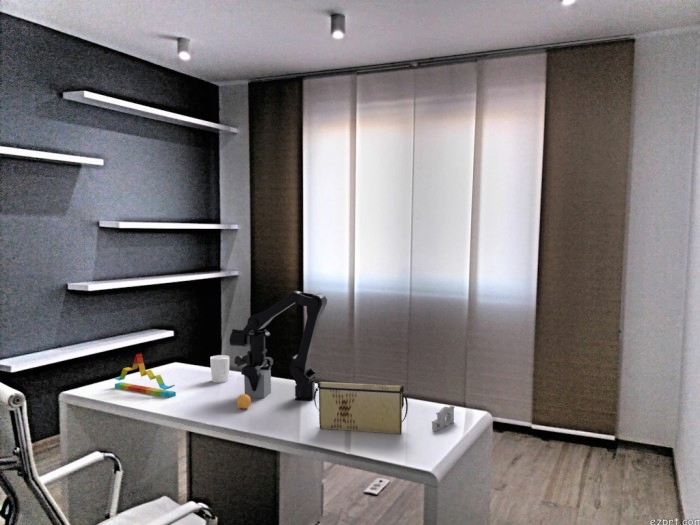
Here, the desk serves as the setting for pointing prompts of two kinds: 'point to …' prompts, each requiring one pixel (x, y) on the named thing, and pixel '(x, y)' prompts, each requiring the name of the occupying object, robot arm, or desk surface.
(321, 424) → the clutch purse
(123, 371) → the chart
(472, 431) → the desk surface
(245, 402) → the ball
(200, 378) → the desk surface
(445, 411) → the garden wall model
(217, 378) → the white cup
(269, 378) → the matte grey cube
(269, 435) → the desk surface
